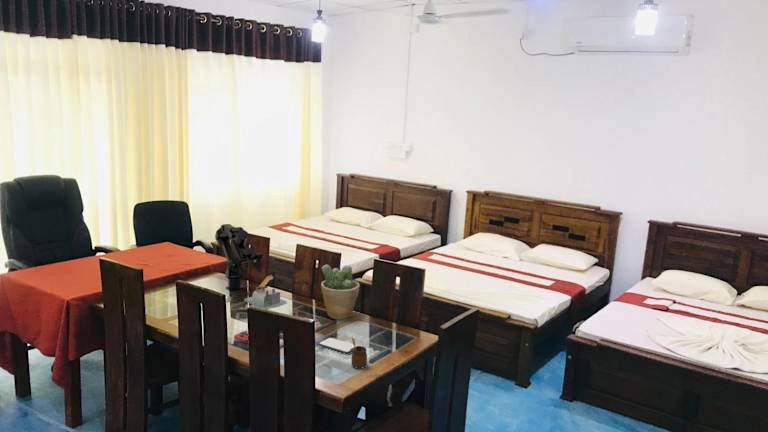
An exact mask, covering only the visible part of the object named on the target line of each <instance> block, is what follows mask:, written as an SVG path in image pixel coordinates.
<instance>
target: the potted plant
mask: <svg viewBox="0 0 768 432" xmlns="http://www.w3.org/2000/svg"><path fill="white" fill-rule="evenodd" d="M321 270H322V274H323V275H324V280H323V281H321V283H320V285H321V286H320V288H321V294H322V295H323V297H322V298H323V302H324V306H325V309H326V313H327V316H328V317H329V318H331V319H334V320H345V318H346V319H349V318H351V317H352V315H353V312H354V310H355V306H356V303H357V298H358V295H359V294H360V293H359V292H360V283H359V282H358V281H356V280H354V278H353V267H352V266H351V265H349V264H348V265H347V264H346V265H344V266H342V269H341V270H339V268H338V267H334V268H332V267H331V266H330V265H329V264H324V265H323V266H322V267H321ZM350 316H351V317H350ZM348 317H349V318H348Z"/></svg>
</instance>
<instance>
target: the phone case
mask: <svg viewBox="0 0 768 432" xmlns="http://www.w3.org/2000/svg"><path fill="white" fill-rule="evenodd" d="M318 345H320V346H322V347H321V348H323V347H325V348H324V349H326V348H328V349H327V350H329V349H331V350H330V351H332V350H334V351H333V352H335V351H337V352H336V353H339V352H341V353H340V354H342V353H345V354H349V353H351V352H353V348H354V345H353V343H352V342H347V341H345V340H341V339H337V338H334V337H328V338H325V339H323V340H321V341H320V342H318V344H317V346H318ZM320 346H319V347H320ZM356 346H359V345H357V344H356V345H355V347H356ZM345 354H344V355H345ZM351 354H352V353H351ZM349 355H350V354H349Z"/></svg>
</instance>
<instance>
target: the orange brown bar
mask: <svg viewBox="0 0 768 432" xmlns="http://www.w3.org/2000/svg"><path fill="white" fill-rule="evenodd" d="M273 279H274V276H273V274H270V275H266V277H265V278H264V279H263V281H262V282H261V283H260V284H259V285H258V286H257V287H258V290H261V289H262V288H263V287H264V286H265V287H266V285H267V284H268V283H269V282H270V280H271V281H272V280H273Z"/></svg>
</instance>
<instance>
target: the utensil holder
mask: <svg viewBox="0 0 768 432" xmlns="http://www.w3.org/2000/svg"><path fill="white" fill-rule="evenodd" d="M351 340H352V344H353V345H354V348H353V353H351V366H352V365H353V366H354V367H357V368H356V369H359V368H360V369H363V368H362V367H364V368H366V367H367V365H368V353H367V343H368V340H366V337H363V339H361V341H360V344H365V345H358V346H356V347H355V345H357V344H356V341H355V338H354V337H351ZM365 341H366V342H365ZM353 366H352V367H353ZM365 366H366V367H365ZM354 367H353V368H354Z"/></svg>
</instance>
